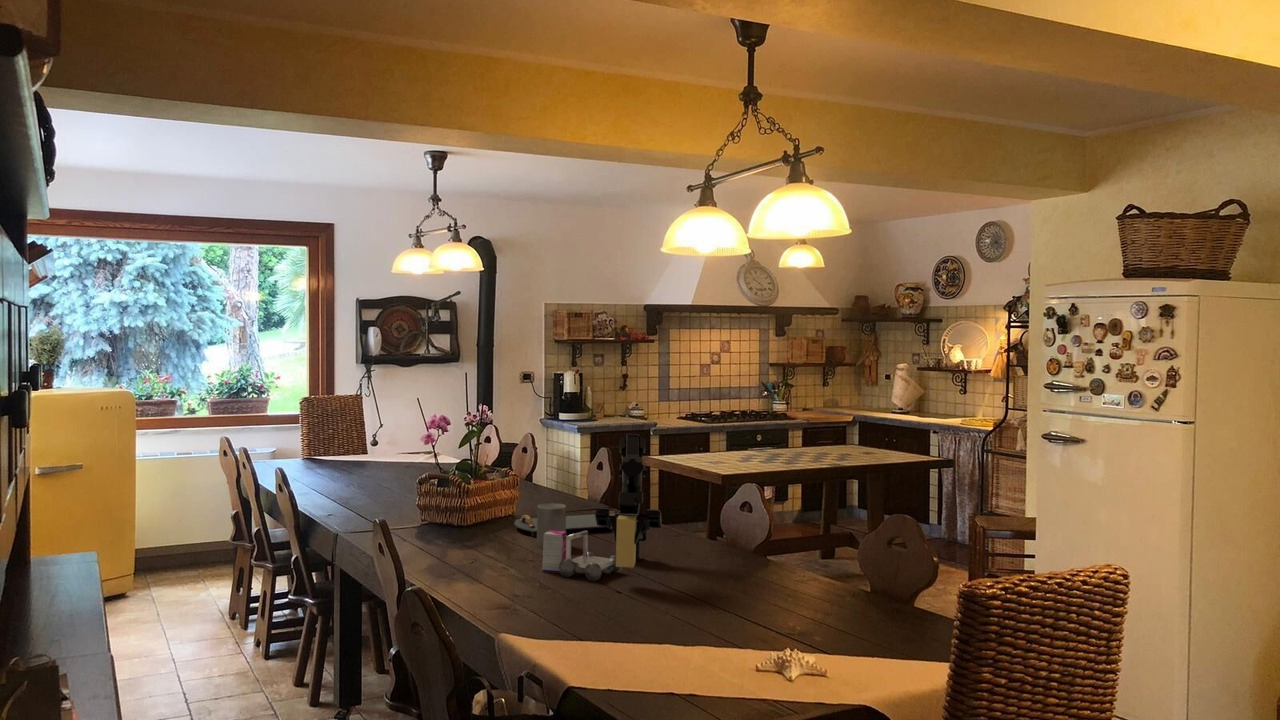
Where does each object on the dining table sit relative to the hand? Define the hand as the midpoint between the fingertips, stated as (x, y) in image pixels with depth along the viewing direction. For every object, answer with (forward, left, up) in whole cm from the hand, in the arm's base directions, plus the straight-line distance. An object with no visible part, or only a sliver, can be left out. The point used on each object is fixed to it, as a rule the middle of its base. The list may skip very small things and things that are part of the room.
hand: (625, 542), depth 269 cm
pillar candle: (-32, -48, -13) cm, 59 cm away
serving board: (-60, -60, -13) cm, 86 cm away
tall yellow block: (-1, -1, -7) cm, 7 cm away
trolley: (-6, -16, -12) cm, 21 cm away
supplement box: (-5, -28, -13) cm, 31 cm away
